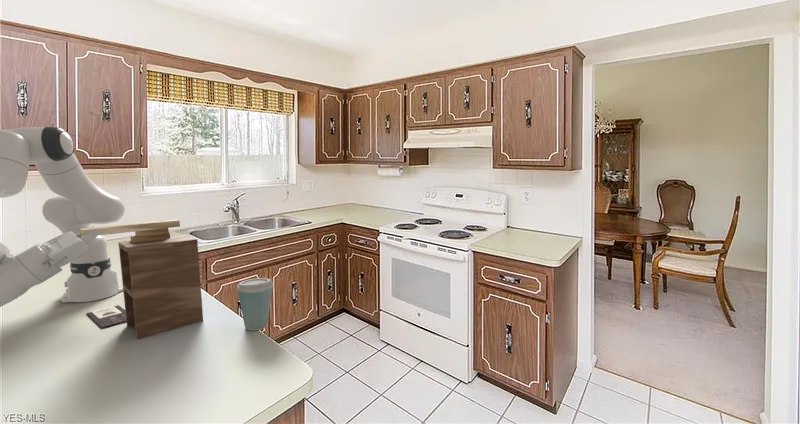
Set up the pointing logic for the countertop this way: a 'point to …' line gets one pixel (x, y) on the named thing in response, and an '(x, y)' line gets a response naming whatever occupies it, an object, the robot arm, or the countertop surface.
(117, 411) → the countertop surface
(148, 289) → the rack
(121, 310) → the chocolate bar
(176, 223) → the birch strip
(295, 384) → the countertop surface
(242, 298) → the disposable coffee cup
